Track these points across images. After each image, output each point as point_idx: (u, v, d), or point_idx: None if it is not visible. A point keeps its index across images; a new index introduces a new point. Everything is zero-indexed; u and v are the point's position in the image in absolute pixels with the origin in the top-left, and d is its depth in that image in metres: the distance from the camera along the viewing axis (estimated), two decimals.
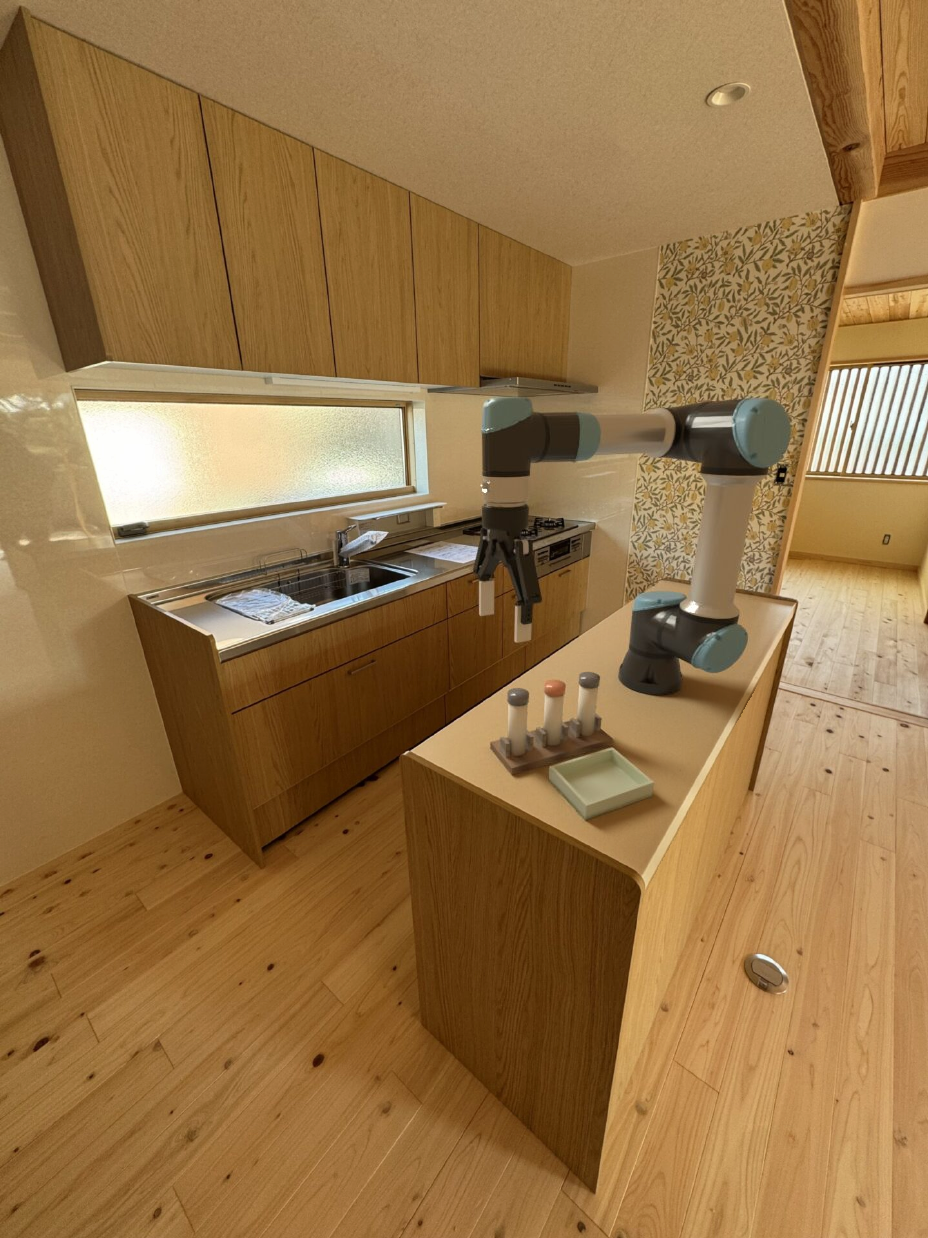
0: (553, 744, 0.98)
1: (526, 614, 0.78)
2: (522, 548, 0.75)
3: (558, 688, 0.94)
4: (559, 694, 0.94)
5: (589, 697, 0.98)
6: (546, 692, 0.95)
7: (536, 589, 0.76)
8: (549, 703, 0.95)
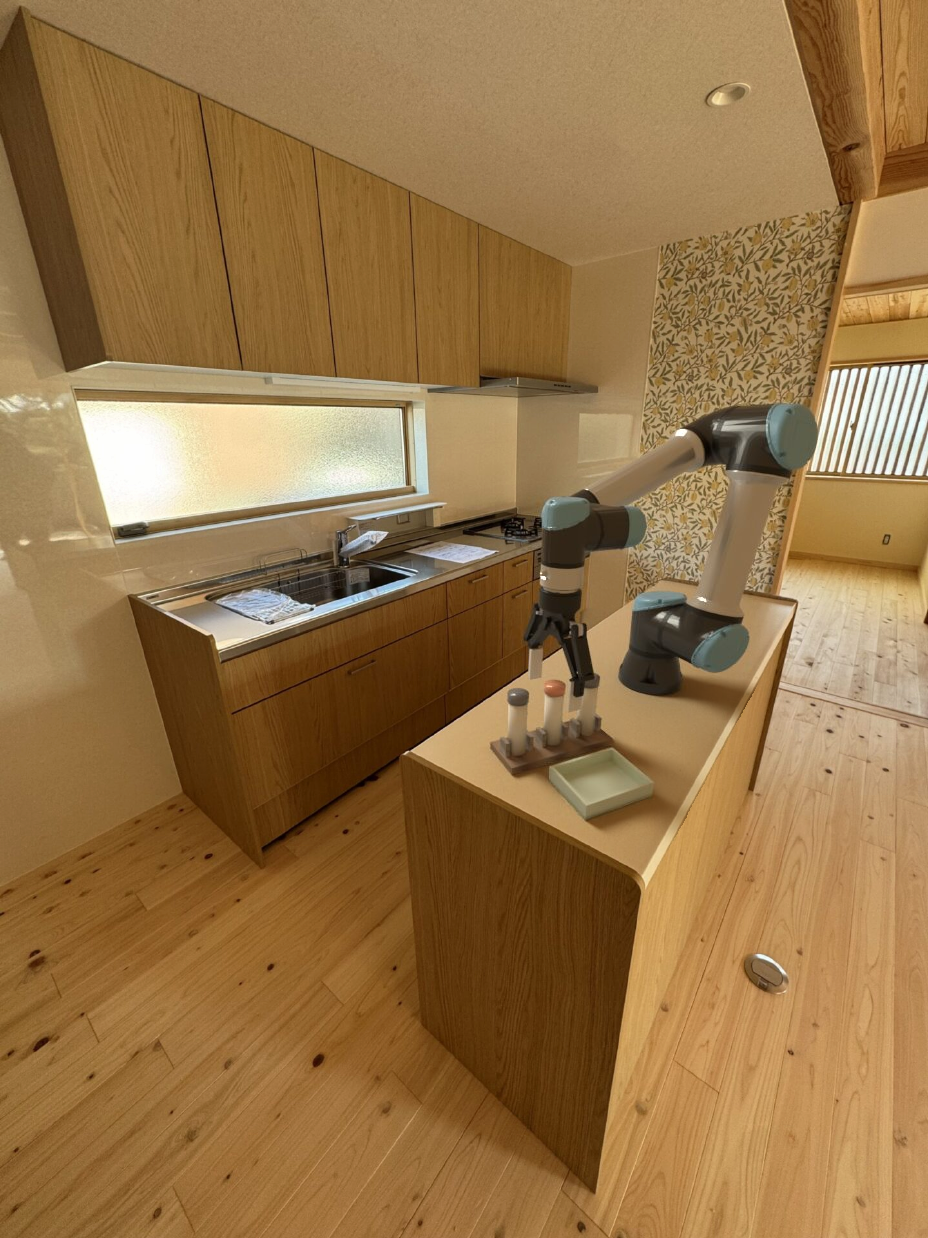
0: (553, 744, 0.98)
1: (579, 688, 0.86)
2: (578, 631, 0.84)
3: (558, 688, 0.94)
4: (559, 694, 0.94)
5: (589, 697, 0.98)
6: (546, 692, 0.95)
7: (590, 668, 0.84)
8: (549, 703, 0.95)
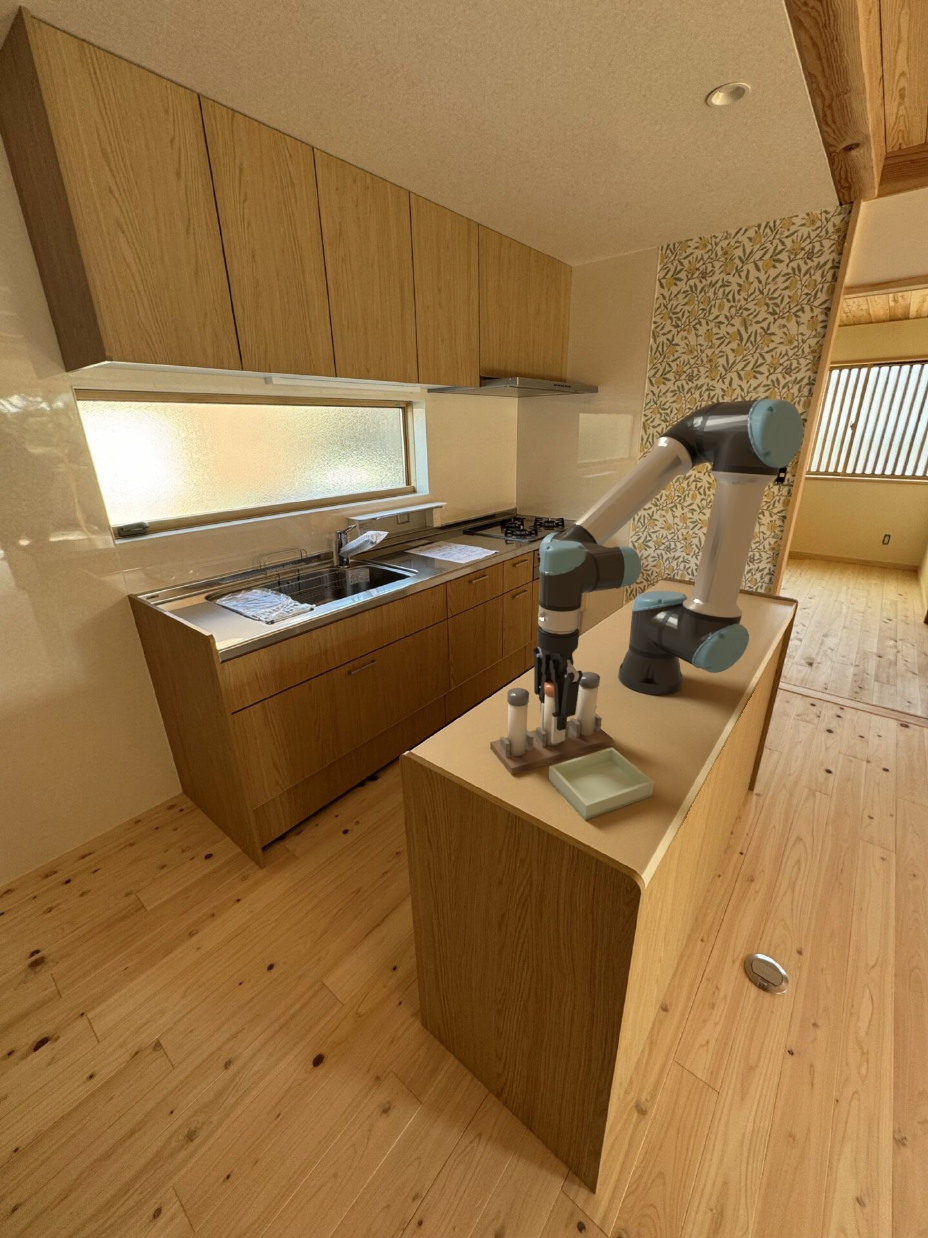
0: (553, 744, 0.98)
1: (562, 723, 0.94)
2: (573, 679, 0.88)
3: None
4: None
5: (589, 697, 0.98)
6: (546, 692, 0.95)
7: (573, 707, 0.91)
8: (549, 703, 0.95)
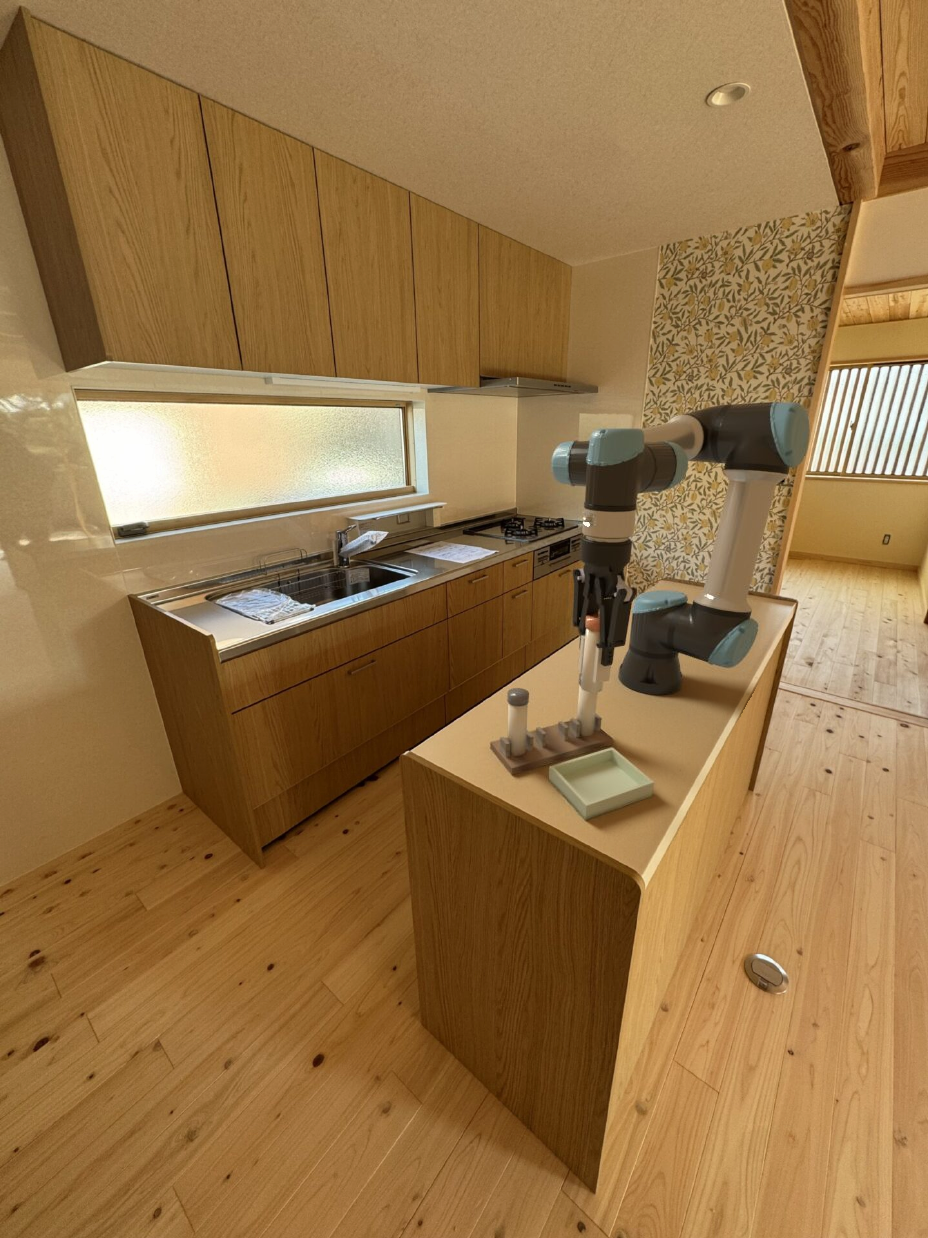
0: (594, 691, 0.83)
1: (607, 656, 0.78)
2: (624, 597, 0.73)
3: None
4: None
5: (589, 697, 0.98)
6: (588, 626, 0.80)
7: (623, 635, 0.76)
8: (591, 639, 0.80)
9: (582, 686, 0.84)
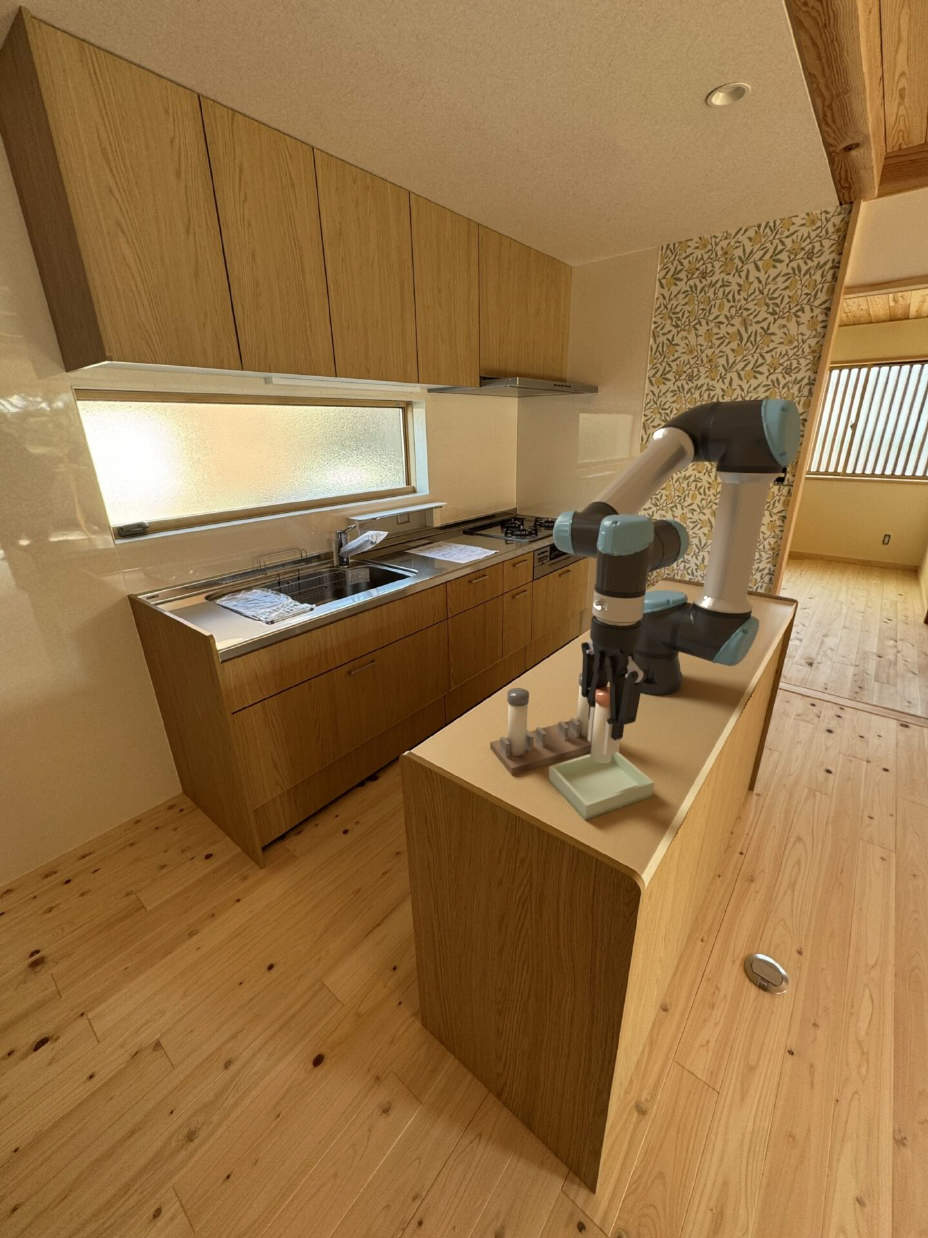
0: (604, 762, 0.84)
1: (618, 731, 0.80)
2: (636, 679, 0.74)
3: None
4: None
5: None
6: (598, 701, 0.81)
7: (634, 713, 0.77)
8: (601, 714, 0.81)
9: (592, 756, 0.85)
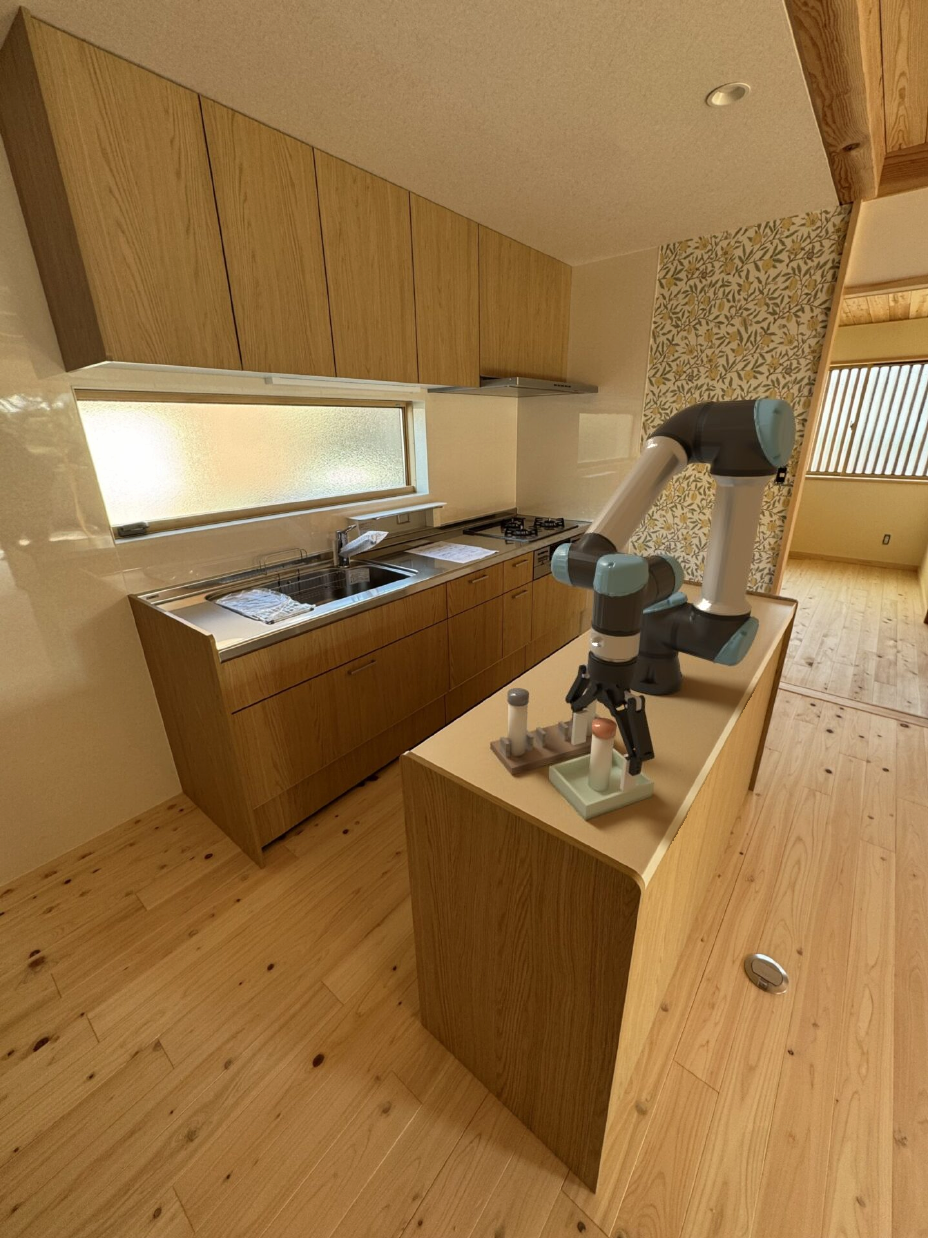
0: (601, 790, 0.87)
1: (636, 767, 0.77)
2: (635, 705, 0.75)
3: (609, 729, 0.82)
4: (610, 736, 0.82)
5: None
6: (595, 733, 0.83)
7: (649, 746, 0.75)
8: (597, 745, 0.84)
9: (589, 785, 0.88)
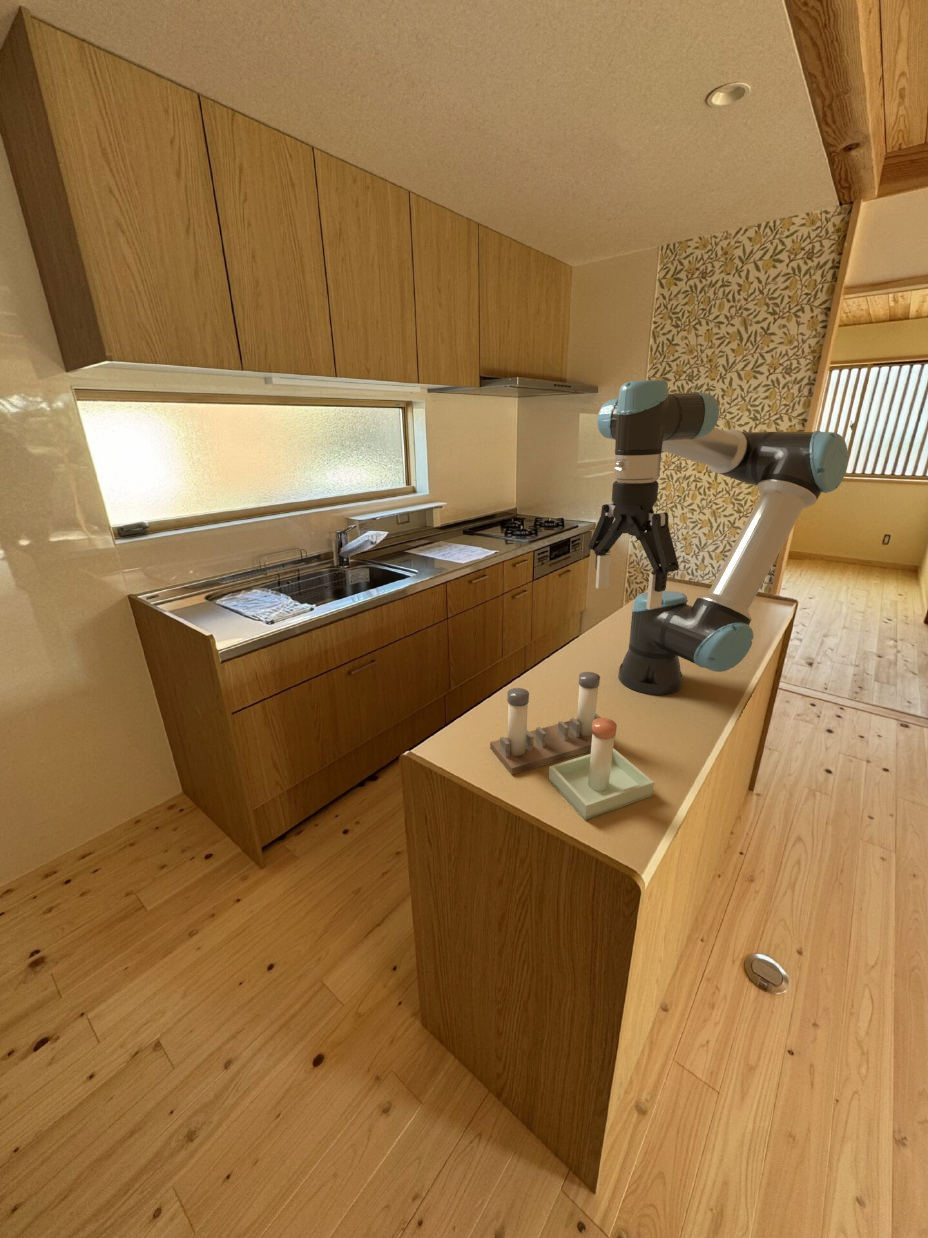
0: (601, 790, 0.87)
1: (661, 582, 0.84)
2: (660, 520, 0.82)
3: (609, 729, 0.82)
4: (610, 736, 0.82)
5: (589, 697, 0.98)
6: (595, 733, 0.83)
7: (674, 558, 0.82)
8: (597, 745, 0.84)
9: (589, 785, 0.88)
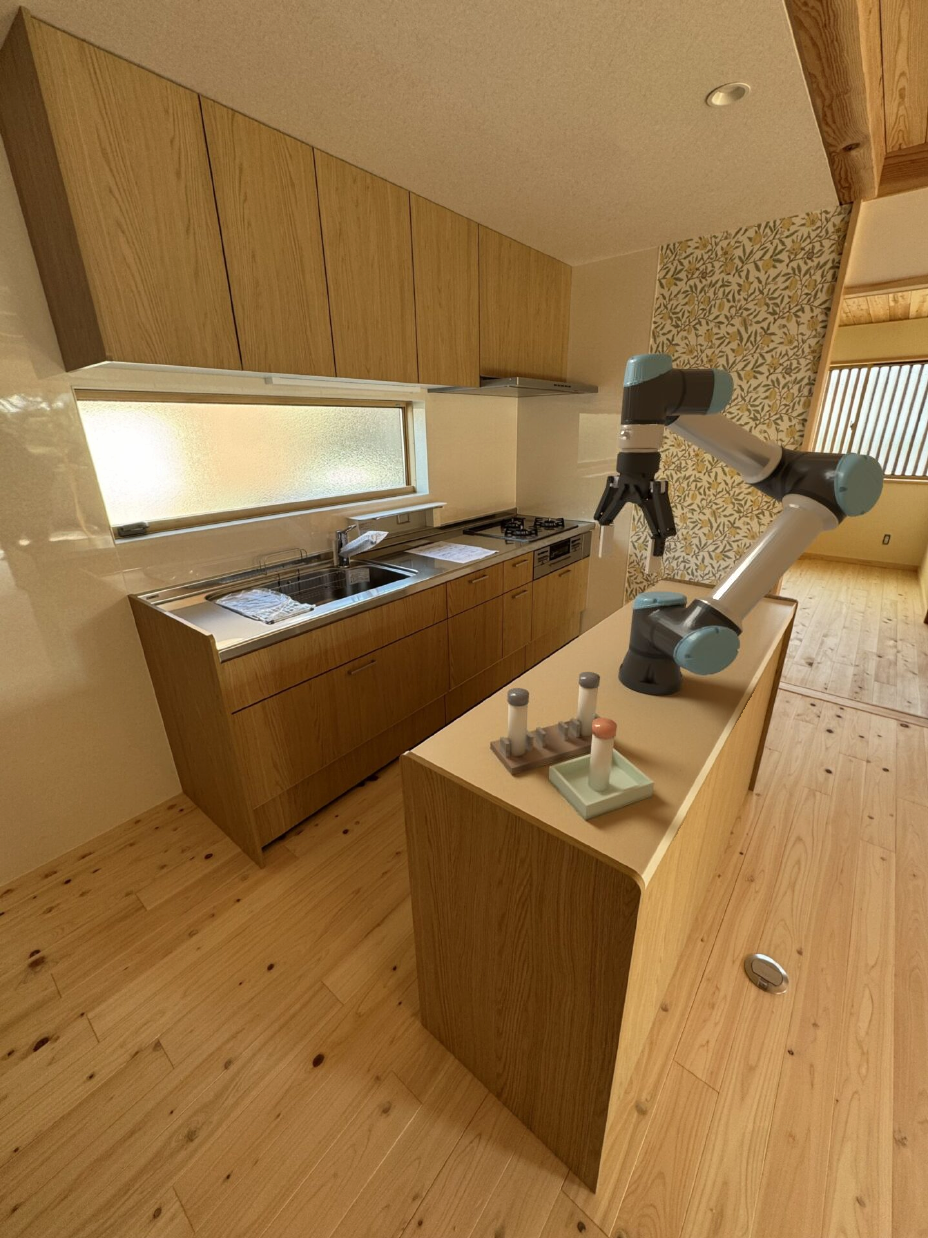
0: (601, 790, 0.87)
1: (660, 547, 0.89)
2: (660, 487, 0.86)
3: (609, 729, 0.82)
4: (610, 736, 0.82)
5: (589, 697, 0.98)
6: (595, 733, 0.83)
7: (672, 523, 0.87)
8: (597, 745, 0.84)
9: (589, 785, 0.88)
